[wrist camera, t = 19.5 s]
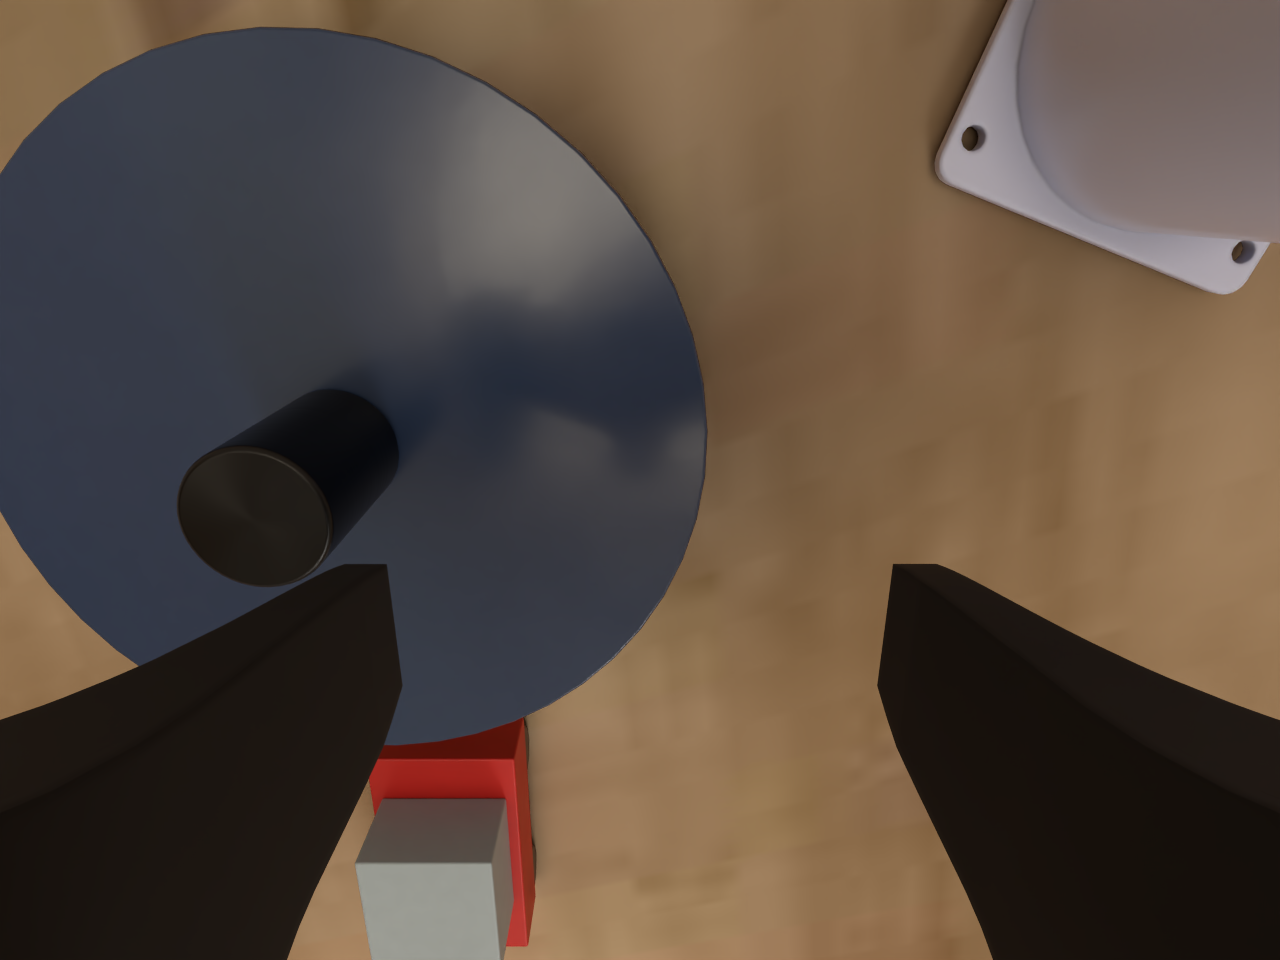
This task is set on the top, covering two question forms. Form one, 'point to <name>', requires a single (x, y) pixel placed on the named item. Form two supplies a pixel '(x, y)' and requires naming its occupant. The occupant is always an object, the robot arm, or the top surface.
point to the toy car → (450, 849)
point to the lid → (342, 366)
